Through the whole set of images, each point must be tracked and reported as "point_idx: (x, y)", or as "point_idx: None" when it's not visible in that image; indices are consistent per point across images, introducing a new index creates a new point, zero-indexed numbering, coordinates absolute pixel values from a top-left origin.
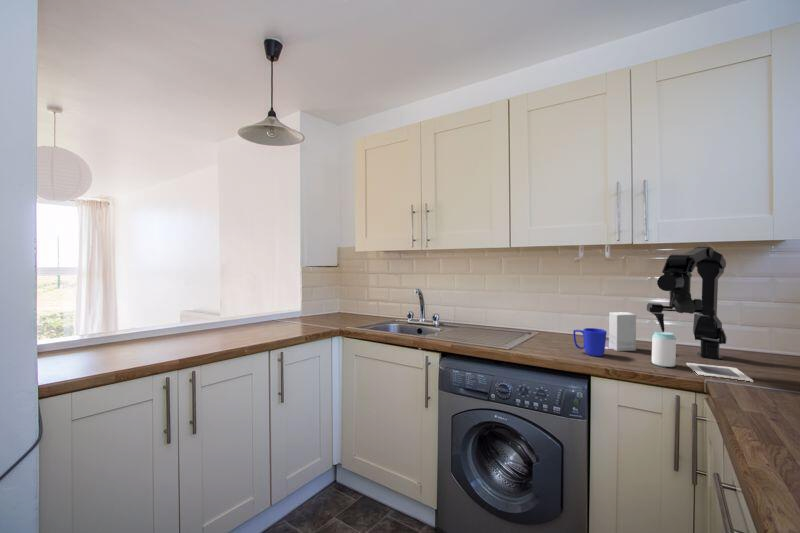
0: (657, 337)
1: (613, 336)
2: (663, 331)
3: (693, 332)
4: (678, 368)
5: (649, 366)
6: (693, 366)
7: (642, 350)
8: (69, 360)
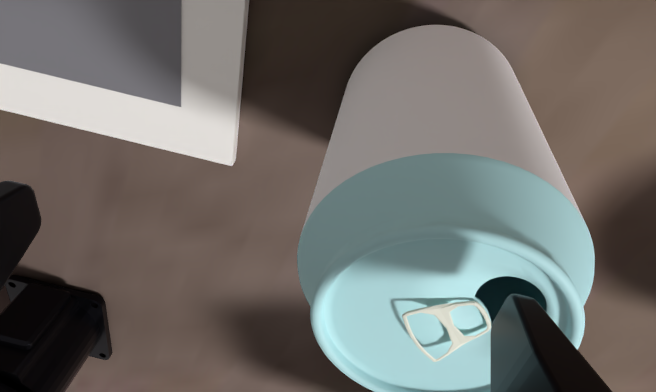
0: (582, 240)
1: None
2: (525, 302)
3: (25, 242)
4: (343, 32)
5: (585, 42)
6: (216, 71)
7: None
8: None
